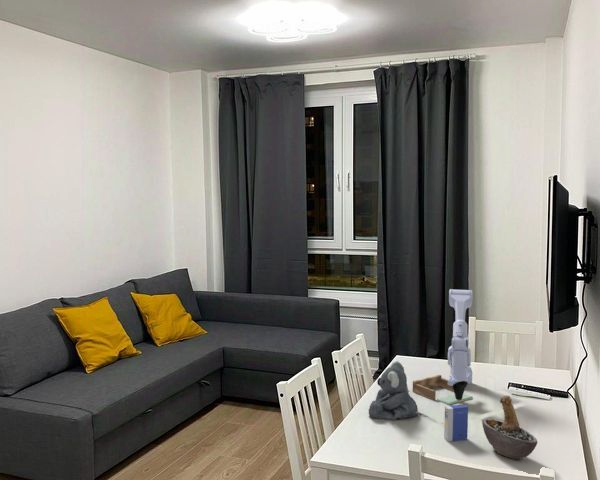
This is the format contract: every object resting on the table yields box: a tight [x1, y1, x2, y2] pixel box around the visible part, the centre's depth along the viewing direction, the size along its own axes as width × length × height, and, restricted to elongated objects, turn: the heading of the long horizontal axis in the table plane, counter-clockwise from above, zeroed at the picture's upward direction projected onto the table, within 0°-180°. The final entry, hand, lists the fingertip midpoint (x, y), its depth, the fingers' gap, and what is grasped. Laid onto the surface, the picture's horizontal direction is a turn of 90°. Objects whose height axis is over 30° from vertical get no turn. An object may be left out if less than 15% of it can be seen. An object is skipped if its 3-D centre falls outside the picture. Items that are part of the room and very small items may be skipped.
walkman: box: [443, 403, 469, 442], centre depth 208 cm, size 8×3×12 cm, turn 105°
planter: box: [481, 394, 539, 461], centre depth 195 cm, size 15×17×20 cm
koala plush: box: [368, 360, 419, 421], centre depth 231 cm, size 17×18×20 cm
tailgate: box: [436, 393, 473, 406], centre depth 244 cm, size 14×1×7 cm
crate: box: [412, 374, 454, 401], centre depth 252 cm, size 16×12×6 cm
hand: (458, 399), depth 242 cm, fingers closed, pressing on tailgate
